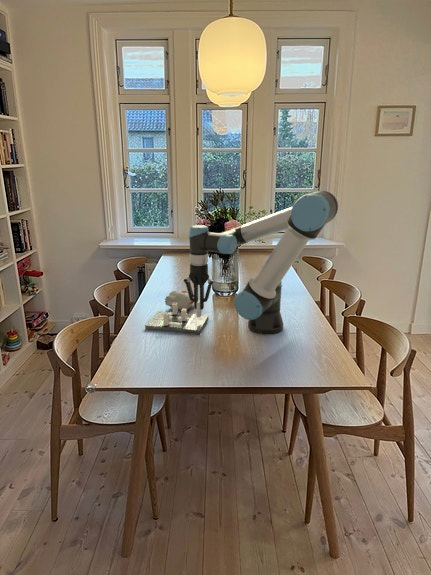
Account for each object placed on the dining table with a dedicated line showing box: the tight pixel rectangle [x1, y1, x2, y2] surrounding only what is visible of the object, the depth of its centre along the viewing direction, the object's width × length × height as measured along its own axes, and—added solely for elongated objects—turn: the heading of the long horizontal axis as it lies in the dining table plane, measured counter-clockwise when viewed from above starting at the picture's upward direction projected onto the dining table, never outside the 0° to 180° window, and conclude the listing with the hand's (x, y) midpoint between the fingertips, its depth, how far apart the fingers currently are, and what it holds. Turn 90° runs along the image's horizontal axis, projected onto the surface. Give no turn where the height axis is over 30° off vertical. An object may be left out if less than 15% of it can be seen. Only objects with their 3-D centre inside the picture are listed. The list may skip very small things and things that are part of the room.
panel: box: [144, 310, 210, 336], centre depth 175 cm, size 24×16×2 cm, turn 78°
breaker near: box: [163, 313, 170, 326], centre depth 169 cm, size 2×2×5 cm
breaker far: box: [171, 303, 179, 315], centre depth 180 cm, size 2×2×5 cm
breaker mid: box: [180, 308, 188, 321], centre depth 173 cm, size 2×2×5 cm
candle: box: [164, 290, 194, 311], centre depth 192 cm, size 9×11×15 cm
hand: (199, 315), depth 172 cm, fingers closed
